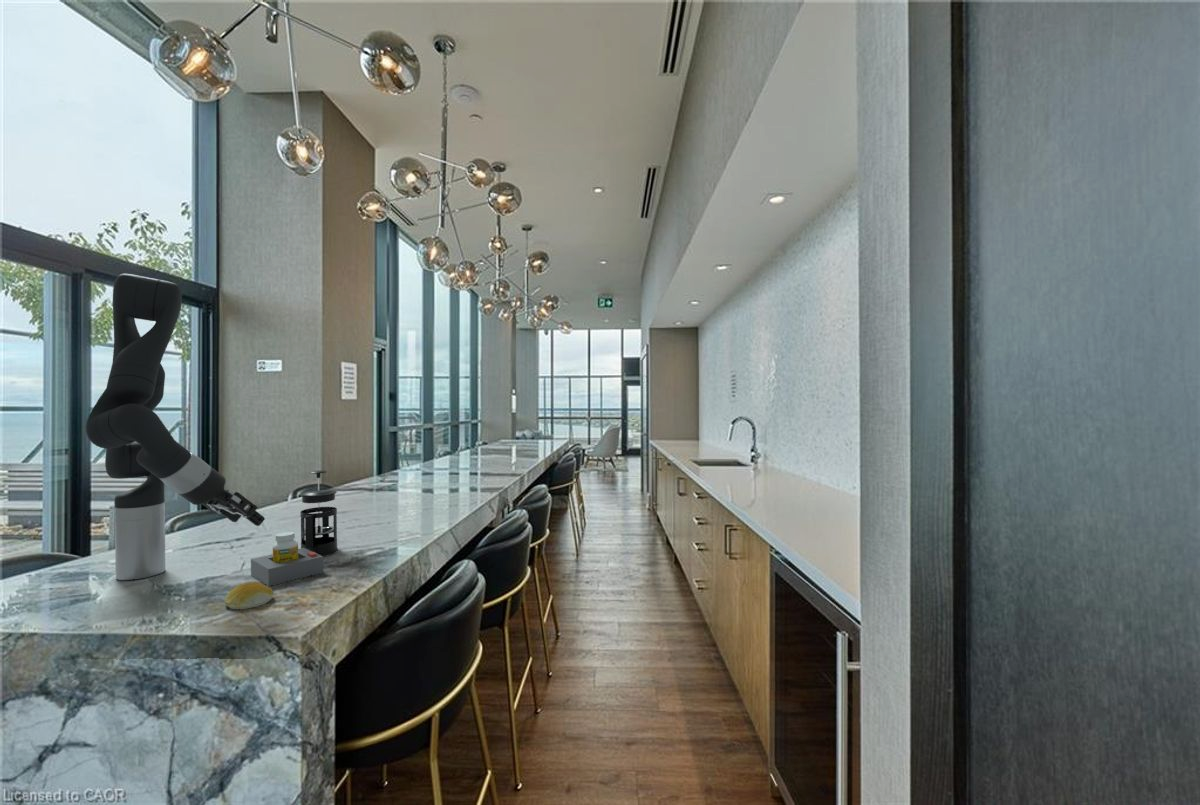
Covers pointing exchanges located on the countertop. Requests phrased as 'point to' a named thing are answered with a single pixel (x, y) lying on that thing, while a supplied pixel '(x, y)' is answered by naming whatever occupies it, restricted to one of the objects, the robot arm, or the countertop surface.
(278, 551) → the supplement bottle
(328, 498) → the french press
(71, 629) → the countertop surface
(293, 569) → the socket block
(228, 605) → the bread roll
